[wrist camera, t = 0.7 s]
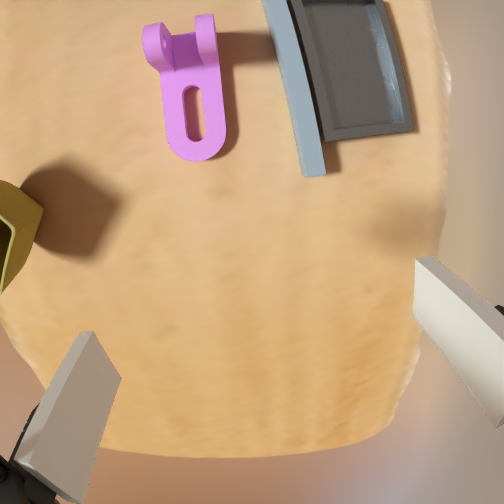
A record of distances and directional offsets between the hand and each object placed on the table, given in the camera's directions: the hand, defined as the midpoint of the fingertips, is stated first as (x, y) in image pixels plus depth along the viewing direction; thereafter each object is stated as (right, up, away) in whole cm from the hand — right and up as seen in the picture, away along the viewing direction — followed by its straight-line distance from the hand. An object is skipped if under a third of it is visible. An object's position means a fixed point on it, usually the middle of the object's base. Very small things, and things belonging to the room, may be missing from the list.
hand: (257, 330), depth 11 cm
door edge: (+3, +21, +14) cm, 25 cm away
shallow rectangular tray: (+10, +22, +14) cm, 28 cm away
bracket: (-6, +18, +15) cm, 24 cm away
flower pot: (-27, +7, +18) cm, 34 cm away
